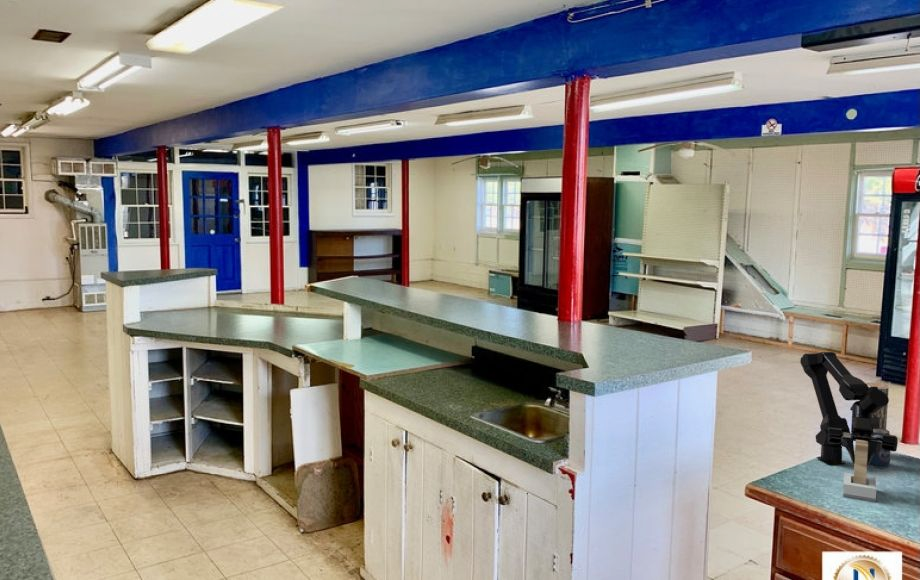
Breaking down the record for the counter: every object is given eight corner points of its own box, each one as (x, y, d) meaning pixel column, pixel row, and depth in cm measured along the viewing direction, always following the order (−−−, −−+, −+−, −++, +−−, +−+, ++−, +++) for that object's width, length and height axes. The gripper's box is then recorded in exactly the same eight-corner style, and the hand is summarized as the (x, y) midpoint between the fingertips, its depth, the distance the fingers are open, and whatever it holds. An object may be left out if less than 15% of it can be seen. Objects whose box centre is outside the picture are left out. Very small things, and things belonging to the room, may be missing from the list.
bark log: (862, 449, 250) (866, 381, 247) (884, 452, 247) (888, 383, 244) (862, 455, 245) (865, 386, 242) (884, 458, 241) (888, 388, 238)
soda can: (883, 470, 231) (885, 435, 230) (861, 464, 237) (863, 430, 235) (893, 465, 235) (895, 430, 234) (871, 459, 241) (873, 425, 239)
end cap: (843, 484, 220) (844, 472, 220) (874, 489, 216) (875, 477, 215) (843, 496, 211) (843, 483, 211) (875, 501, 207) (876, 489, 207)
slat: (853, 479, 216) (855, 439, 214) (865, 481, 215) (867, 441, 213) (853, 485, 212) (855, 444, 211) (865, 487, 211) (867, 445, 209)
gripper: (829, 402, 218) (826, 447, 210) (899, 410, 209) (899, 457, 201) (828, 419, 226) (825, 463, 218) (896, 427, 217) (896, 474, 209)
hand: (860, 464), depth 211 cm, fingers closed on slat, 3 cm apart
